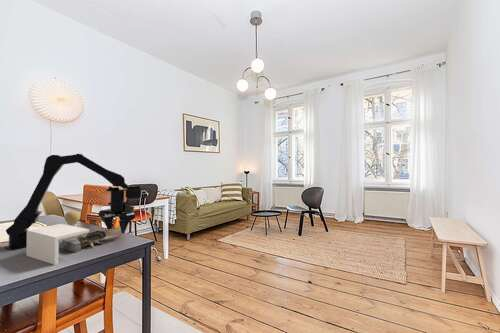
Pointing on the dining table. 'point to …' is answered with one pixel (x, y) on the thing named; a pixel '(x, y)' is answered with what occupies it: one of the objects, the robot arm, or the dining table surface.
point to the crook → (75, 245)
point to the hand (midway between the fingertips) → (116, 232)
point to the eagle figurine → (92, 238)
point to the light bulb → (72, 218)
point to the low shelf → (49, 241)
